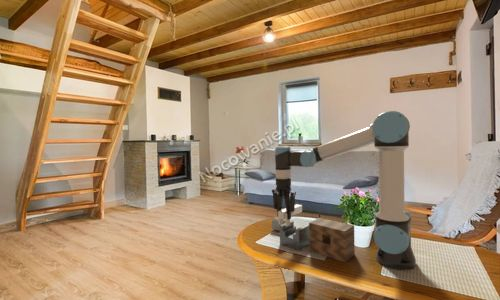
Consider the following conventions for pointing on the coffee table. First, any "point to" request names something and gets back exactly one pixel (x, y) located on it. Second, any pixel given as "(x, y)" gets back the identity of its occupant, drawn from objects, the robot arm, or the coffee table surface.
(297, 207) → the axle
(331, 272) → the coffee table surface
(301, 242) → the v block
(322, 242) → the brown wooden box
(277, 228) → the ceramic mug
